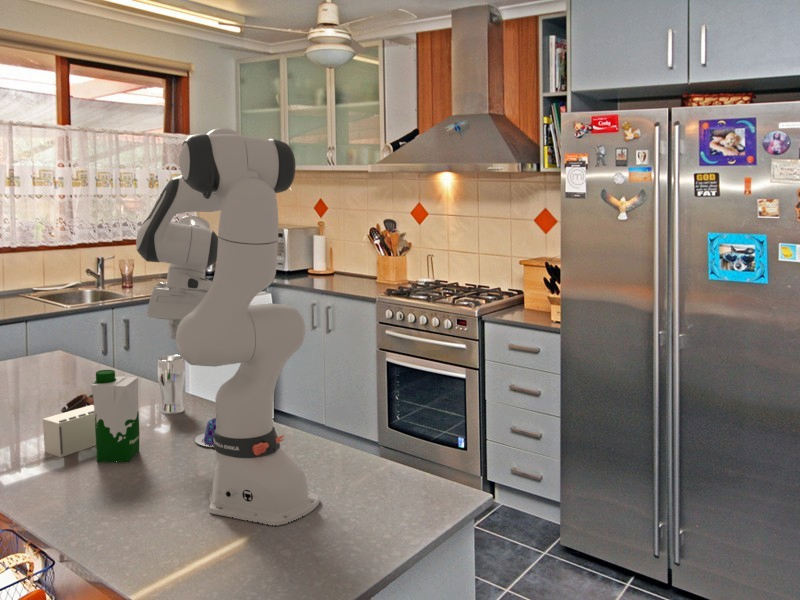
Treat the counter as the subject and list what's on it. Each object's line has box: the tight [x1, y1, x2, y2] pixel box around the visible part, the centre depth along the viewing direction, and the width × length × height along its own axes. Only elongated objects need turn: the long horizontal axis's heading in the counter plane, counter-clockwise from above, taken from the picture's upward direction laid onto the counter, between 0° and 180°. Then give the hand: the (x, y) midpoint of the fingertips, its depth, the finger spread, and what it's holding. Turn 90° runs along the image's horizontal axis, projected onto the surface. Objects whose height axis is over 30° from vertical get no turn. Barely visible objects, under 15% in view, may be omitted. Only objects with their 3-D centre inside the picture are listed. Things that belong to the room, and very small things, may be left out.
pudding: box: [194, 417, 216, 448], centre depth 182 cm, size 12×12×5 cm
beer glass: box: [157, 354, 186, 415], centre depth 202 cm, size 7×7×15 cm
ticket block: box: [42, 405, 96, 458], centre depth 175 cm, size 6×13×8 cm, turn 149°
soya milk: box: [90, 369, 141, 463], centre depth 168 cm, size 9×9×20 cm
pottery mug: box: [60, 393, 94, 413], centre depth 194 cm, size 12×10×8 cm
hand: (177, 339), depth 181 cm, fingers closed
